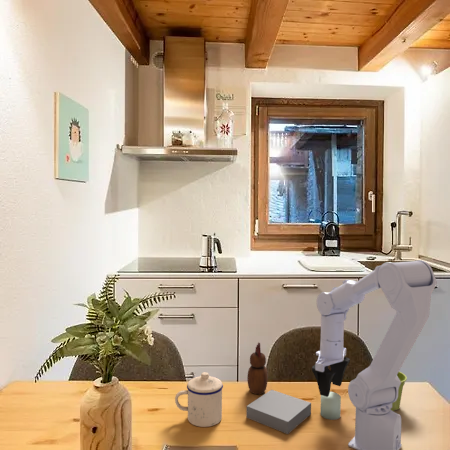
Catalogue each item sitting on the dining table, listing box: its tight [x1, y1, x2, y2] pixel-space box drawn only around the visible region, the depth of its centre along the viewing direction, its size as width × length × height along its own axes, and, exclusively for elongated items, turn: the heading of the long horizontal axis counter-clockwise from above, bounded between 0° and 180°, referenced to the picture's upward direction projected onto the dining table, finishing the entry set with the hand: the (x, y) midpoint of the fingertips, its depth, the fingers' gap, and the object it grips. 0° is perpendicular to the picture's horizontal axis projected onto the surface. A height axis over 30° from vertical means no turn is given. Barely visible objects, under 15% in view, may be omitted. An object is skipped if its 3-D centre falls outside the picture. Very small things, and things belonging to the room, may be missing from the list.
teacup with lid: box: [174, 371, 224, 428], centre depth 104 cm, size 12×9×12 cm
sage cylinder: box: [320, 391, 342, 421], centre depth 107 cm, size 5×5×5 cm
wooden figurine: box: [247, 341, 269, 395], centre depth 119 cm, size 7×6×15 cm
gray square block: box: [245, 389, 312, 435], centre depth 106 cm, size 12×12×3 cm
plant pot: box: [391, 371, 408, 412], centre depth 112 cm, size 9×9×9 cm
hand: (330, 389), depth 107 cm, fingers open, 7 cm apart
